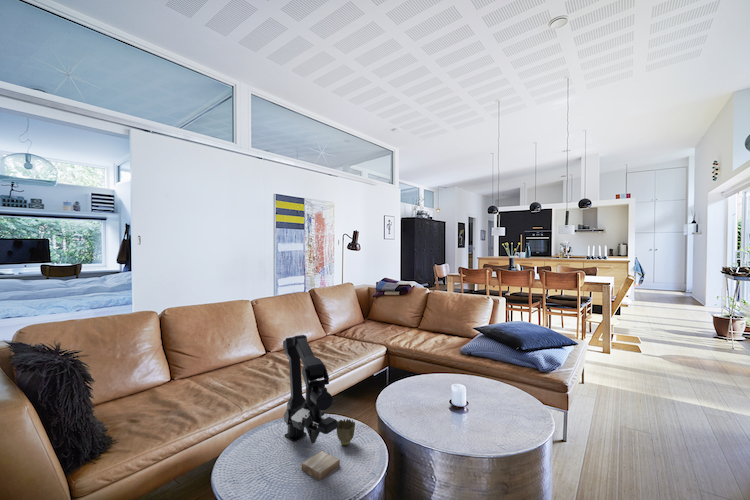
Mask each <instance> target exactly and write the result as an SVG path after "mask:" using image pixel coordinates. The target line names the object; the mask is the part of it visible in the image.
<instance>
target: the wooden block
mask: <svg viewBox="0 0 750 500" xmlns="http://www.w3.org/2000/svg"><path fill="white" fill-rule="evenodd" d="M340 463H341V459H339V458H337V457H335V456H334V455H332V454H330V453H327V452H326V451H324V450H320V451H318V452H317V453H316V454H314V455H312V456H311V457H309V458H307V459H306V460H304V461H303V462H301V471H303V472H304V473H306V474H308V475H310V476H311V477H312V478H314V479H316V480H318V481H322V480H323V479H324V478H326V477H328V476H329V475H330V474H331V473H333V472H334V471H336V469H338V468H339V467H340V466H341V465H340Z"/></svg>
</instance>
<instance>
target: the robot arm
mask: <svg viewBox="0 0 750 500" xmlns="http://www.w3.org/2000/svg"><path fill="white" fill-rule="evenodd" d="M282 348H283V350H284V354H285V356H286V357H287V359H288V367H289V388H290V397H289V399H288V401H287V404H286V405H287V406H286V409H285V412H284V413H283V420H284V423H285V424H286V426H287V433H285V434H284V435H283V436H284V437H285V438H287V439H289V440H291V441H292V442H296V441H299V440H300V439H301V438H303V437H305V436H306V435H307V434H308V437H309V440H310V444H312V445H314V444H315V443H316V442H317V439H318V437H319V435H320V433H322V434H323V435H328V434H329V433H331V432H333V431H335V430H337V428H338V421H339V420H337V419H336V418H334V417H331V416H328V417H326V418H325V417H323V416H325V412H324V411H326V410H328V409H329V408H330V407H331V405H332V404H333V400H334V399H333V396H332V394H331V393H330V391H328V388H327V387H326V386H327V385H329V383H330V382H329V381H330V377H329V373H328V370H327V367H326V365H325V364H324V362H323V361H322V359H320V358H319V357H316V356H315V353H314V352H313V350H312V348H311V346H310V343H309V342H308V338H307V335H305V334H300V335H298V334H297V335H294V336H289V337H285V339H284V340H283V341H282ZM301 363H302V364H303V365H302V366H303V367H302V366H301ZM302 379H303V380H304V384H305V397H304V396H303V383H302ZM305 429H306V431H307V432H305Z"/></svg>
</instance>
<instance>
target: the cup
mask: <svg viewBox="0 0 750 500" xmlns="http://www.w3.org/2000/svg"><path fill="white" fill-rule="evenodd" d="M337 421H338V428H336V435H337V439H338V440H339V441H340V445H341V446H344V447H347V446H349V445H350V444H351V441H352V440H353V439H354V435H355V429H356V422H355V421H354V420H351V418H350V419H348V418H346V419H345V418H344V419H340V420H337Z"/></svg>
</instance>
